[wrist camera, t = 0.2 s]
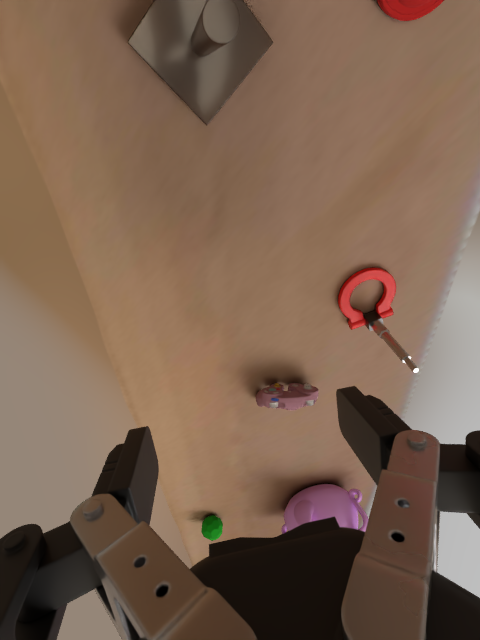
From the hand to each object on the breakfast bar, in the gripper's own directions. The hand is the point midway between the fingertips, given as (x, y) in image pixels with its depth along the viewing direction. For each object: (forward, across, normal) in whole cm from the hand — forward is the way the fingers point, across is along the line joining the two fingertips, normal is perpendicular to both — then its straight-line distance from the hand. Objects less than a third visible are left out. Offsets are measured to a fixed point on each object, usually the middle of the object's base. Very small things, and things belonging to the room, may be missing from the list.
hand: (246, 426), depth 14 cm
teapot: (+54, -14, +57) cm, 80 cm away
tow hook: (+35, -22, +5) cm, 41 cm away
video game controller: (+41, -9, +20) cm, 46 cm away
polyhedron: (+55, +10, +57) cm, 80 cm away
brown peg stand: (+24, -3, -24) cm, 34 cm away
